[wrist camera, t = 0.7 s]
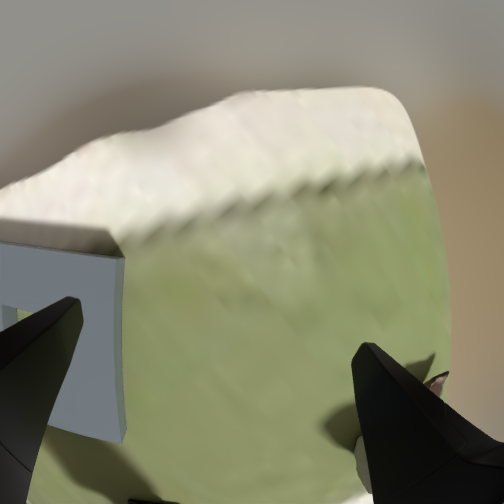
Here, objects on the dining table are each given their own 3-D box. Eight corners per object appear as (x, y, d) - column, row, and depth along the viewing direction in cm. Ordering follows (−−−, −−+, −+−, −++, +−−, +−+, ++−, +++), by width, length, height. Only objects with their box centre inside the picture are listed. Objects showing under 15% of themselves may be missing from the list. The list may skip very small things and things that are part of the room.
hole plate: (126, 428, 21) (121, 444, 19) (-4, 389, 18) (-16, 398, 16) (125, 257, 21) (115, 259, 19) (-17, 238, 18) (-33, 238, 16)
